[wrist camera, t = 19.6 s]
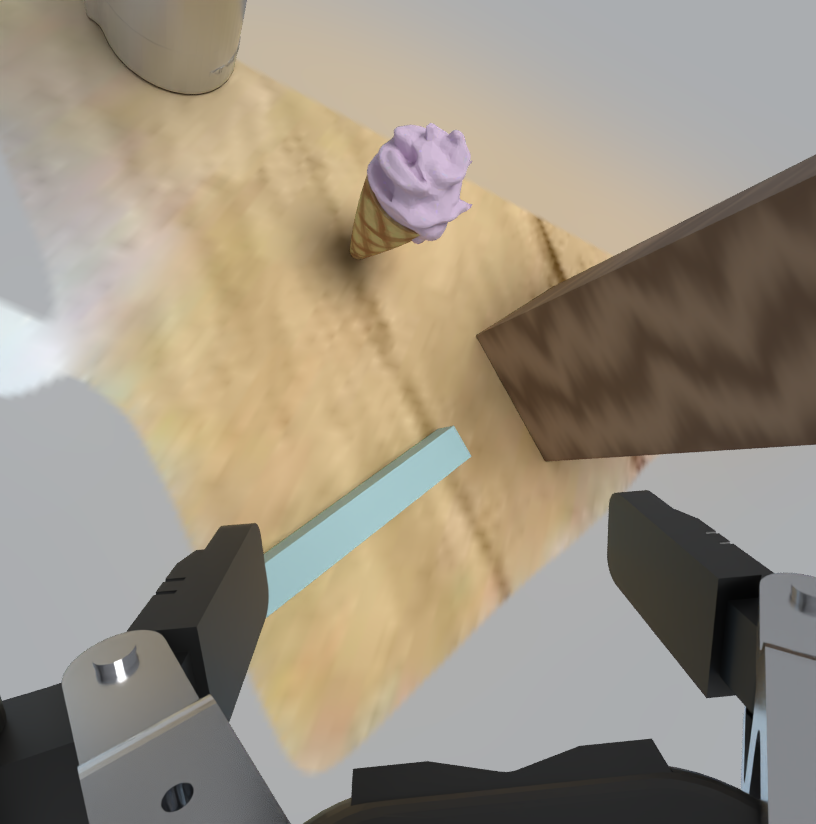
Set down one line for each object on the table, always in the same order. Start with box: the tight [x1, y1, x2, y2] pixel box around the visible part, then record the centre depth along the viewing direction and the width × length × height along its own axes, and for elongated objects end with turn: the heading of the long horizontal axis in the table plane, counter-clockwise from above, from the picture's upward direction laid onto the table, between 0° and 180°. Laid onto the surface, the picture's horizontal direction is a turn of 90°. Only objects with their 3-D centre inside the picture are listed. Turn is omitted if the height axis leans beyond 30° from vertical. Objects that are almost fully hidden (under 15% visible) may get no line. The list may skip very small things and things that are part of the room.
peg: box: [264, 426, 471, 617], centre depth 37 cm, size 24×3×3 cm, turn 125°
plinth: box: [476, 155, 816, 461], centre depth 36 cm, size 14×12×32 cm
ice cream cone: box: [349, 123, 472, 260], centre depth 36 cm, size 7×6×15 cm
